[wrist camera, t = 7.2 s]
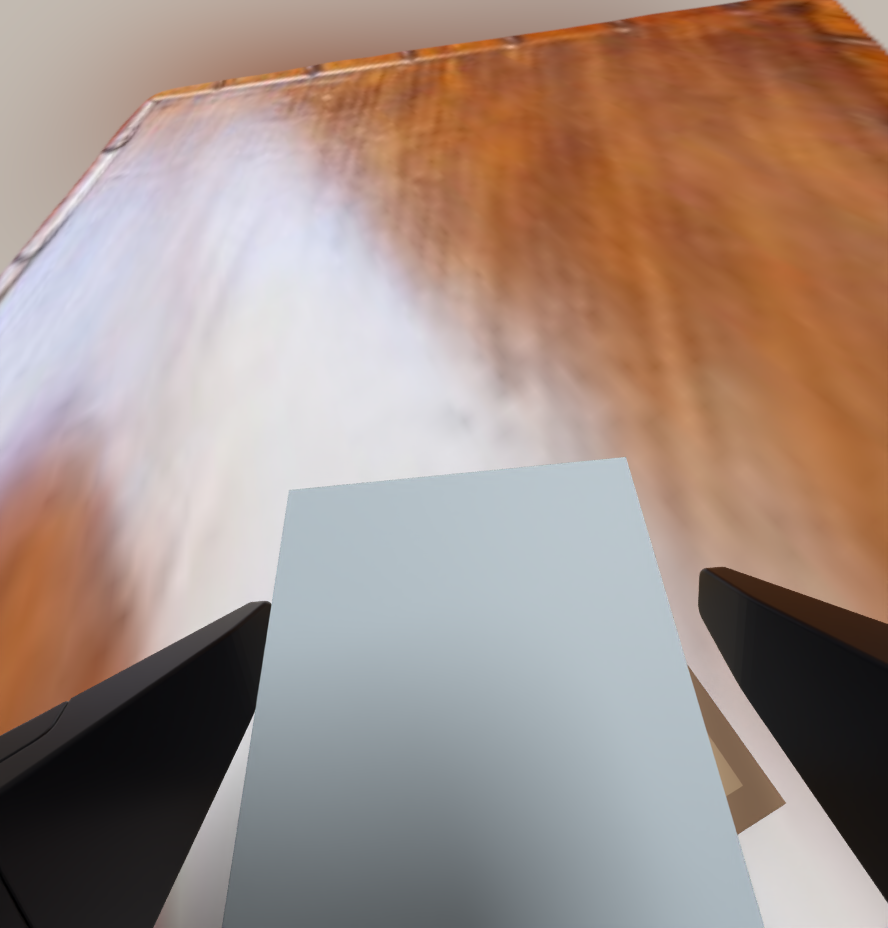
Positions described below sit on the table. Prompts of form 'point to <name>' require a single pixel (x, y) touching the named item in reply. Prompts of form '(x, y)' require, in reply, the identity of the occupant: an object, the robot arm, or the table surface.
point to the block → (480, 718)
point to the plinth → (736, 767)
